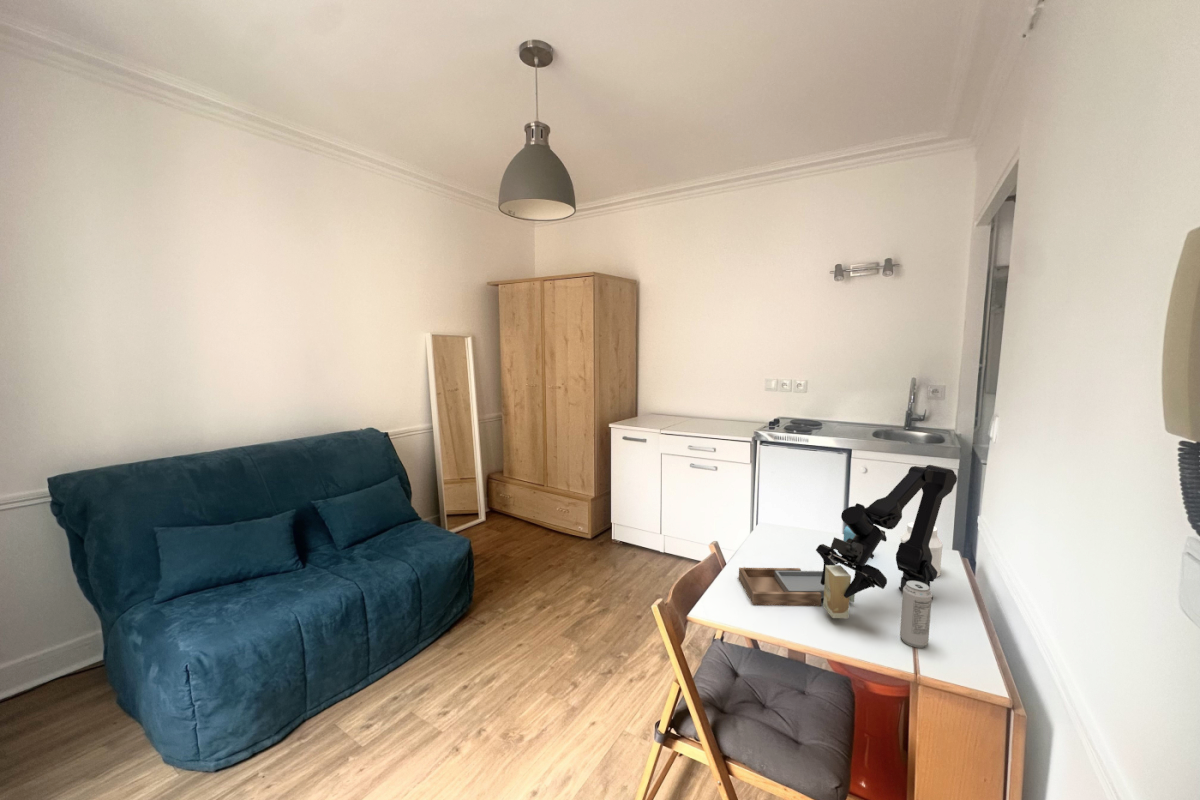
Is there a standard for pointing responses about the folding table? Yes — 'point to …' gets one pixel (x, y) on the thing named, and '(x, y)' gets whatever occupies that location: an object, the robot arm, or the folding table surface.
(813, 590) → the tray
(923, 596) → the energy drink can
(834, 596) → the skincare box
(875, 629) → the folding table surface
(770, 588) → the caddy
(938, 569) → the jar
